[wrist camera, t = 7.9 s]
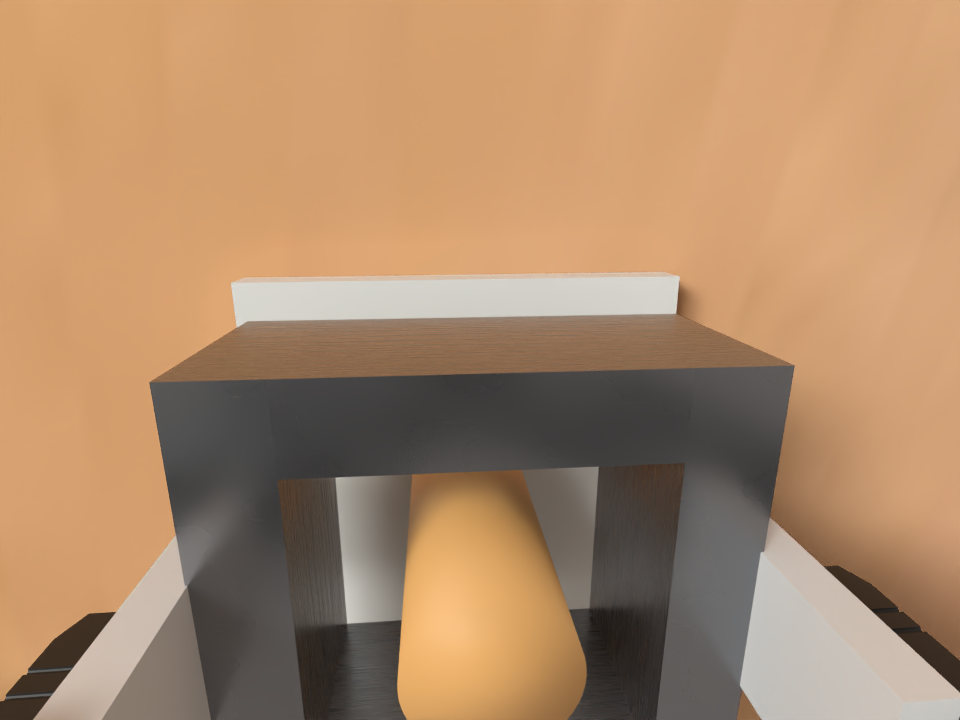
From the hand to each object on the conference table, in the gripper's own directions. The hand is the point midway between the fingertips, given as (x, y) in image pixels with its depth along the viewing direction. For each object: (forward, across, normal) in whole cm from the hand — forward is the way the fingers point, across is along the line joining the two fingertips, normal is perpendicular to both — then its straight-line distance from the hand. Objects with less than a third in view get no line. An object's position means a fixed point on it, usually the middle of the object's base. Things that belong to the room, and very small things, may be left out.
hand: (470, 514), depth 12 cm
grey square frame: (0, 0, 0) cm, 0 cm away
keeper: (+3, 0, 0) cm, 3 cm away
